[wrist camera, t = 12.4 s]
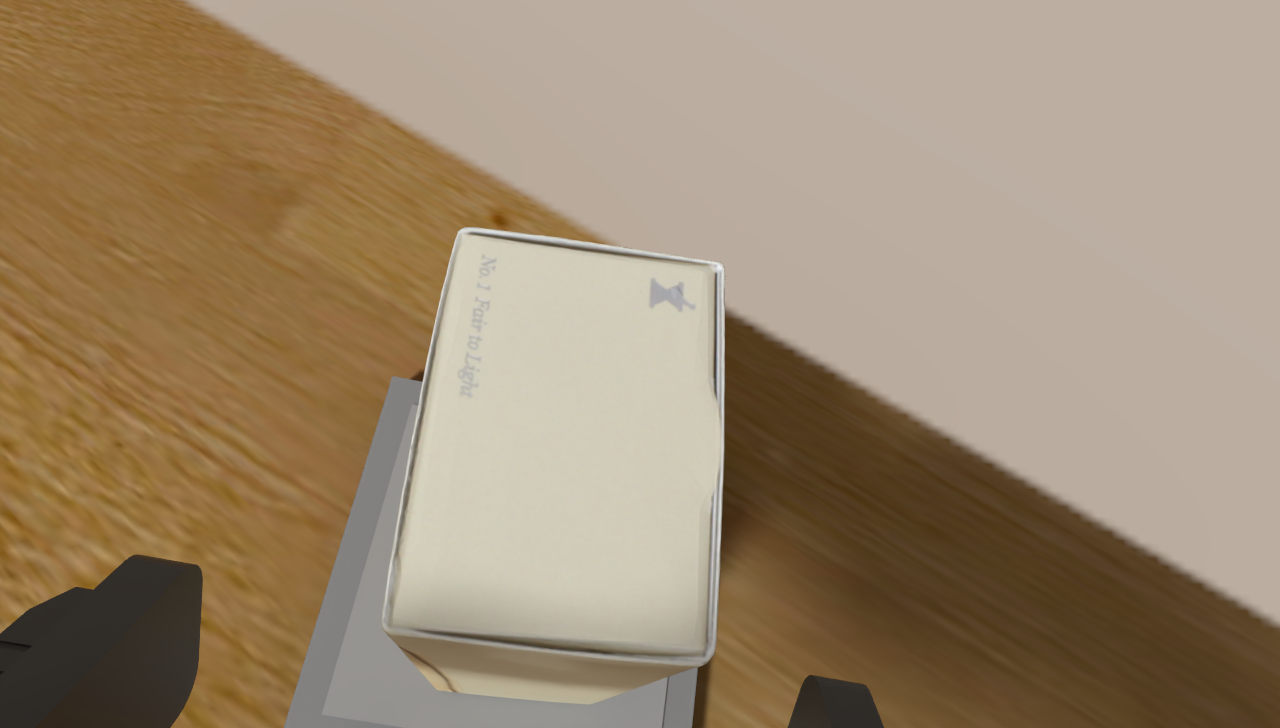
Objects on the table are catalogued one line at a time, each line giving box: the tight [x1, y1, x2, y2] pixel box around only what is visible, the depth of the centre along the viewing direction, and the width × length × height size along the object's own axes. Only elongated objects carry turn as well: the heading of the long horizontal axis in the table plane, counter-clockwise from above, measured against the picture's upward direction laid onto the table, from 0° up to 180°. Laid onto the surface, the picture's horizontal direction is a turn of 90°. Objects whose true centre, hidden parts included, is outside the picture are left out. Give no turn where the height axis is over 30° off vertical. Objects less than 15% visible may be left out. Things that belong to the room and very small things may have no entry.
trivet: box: [284, 376, 698, 728], centre depth 23 cm, size 10×10×1 cm
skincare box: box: [381, 227, 725, 705], centre depth 17 cm, size 6×4×12 cm
